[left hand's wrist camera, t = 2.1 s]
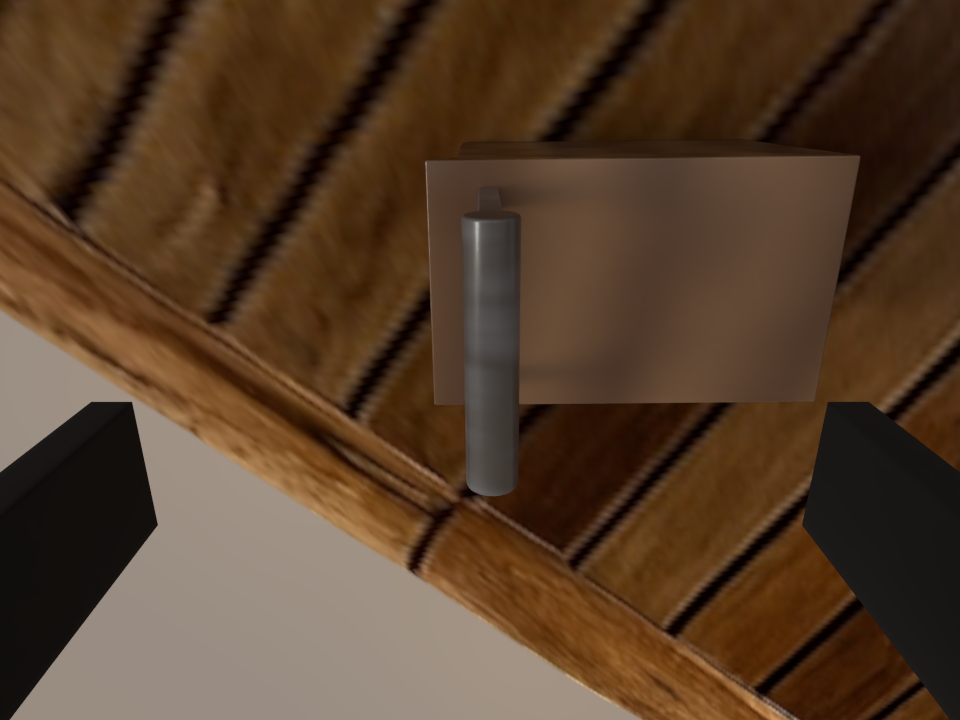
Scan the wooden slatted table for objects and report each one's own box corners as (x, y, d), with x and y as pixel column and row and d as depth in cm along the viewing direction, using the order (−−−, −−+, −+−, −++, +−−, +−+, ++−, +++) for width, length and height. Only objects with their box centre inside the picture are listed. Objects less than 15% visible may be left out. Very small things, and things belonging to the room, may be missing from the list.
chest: (465, 320, 36) (460, 395, 27) (462, 142, 32) (455, 157, 23) (721, 318, 36) (804, 391, 27) (744, 139, 32) (847, 153, 23)
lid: (435, 395, 27) (416, 521, 19) (426, 158, 23) (398, 186, 15) (804, 392, 27) (944, 516, 19) (847, 153, 23) (1040, 179, 15)
